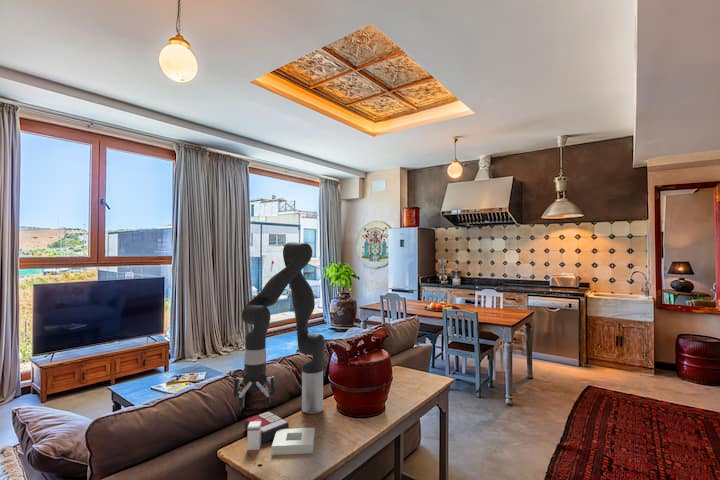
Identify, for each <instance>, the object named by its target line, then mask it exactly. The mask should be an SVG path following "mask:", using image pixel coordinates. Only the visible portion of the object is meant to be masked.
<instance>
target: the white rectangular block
mask: <svg viewBox="0 0 720 480" xmlns="http://www.w3.org/2000/svg"><path fill="white" fill-rule="evenodd" d="M261 445H262V442H261V421H254V422H250V423H249V425H248V431H247V446H246V448H247V451H258V450H260V448H261Z"/></svg>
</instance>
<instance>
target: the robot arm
mask: <svg viewBox="0 0 720 480" xmlns="http://www.w3.org/2000/svg"><path fill="white" fill-rule="evenodd" d="M282 256H283V257H282V258H283V262H284V265H285V267H284V268H283V269H281V270H280V271H278V272H277V273H276V274H274V275H273V276H272V277H271V278H269V280H268V281H267V282H266V283H265V285H264V287H263V288H262V289H261V291H260V292H259V293H258V294H256V295H255V296H254V297H253V298H252V299H250V300H249V302H247V304H246V305H245V306H244V307H243V310H242V312H241V319H242V321H243V322H244V323H245V324H247V325H253V327H252V330H251V331H248V332H247V333H246V334H245V347H244V351H245V352H244V356H243V357H244V358H243V361H244V362H243V363H244V366H243V367H244V368H243V370H244V371H243V375H244V376H243V377H239V376H236V378H235V379H234V386H233V396H234V397H238V405H239V406H238V407H240V409H244V408H245V394H246V393H247V391H261V392H262V393H263V394H264V395H265V408H268V407H269V406H270V404H271V397H272V396H274V395H275V394H276V389H277V388H276V376H275V375H272V376H267V349H266V342H267V340H266V338H267V337H266V336H267V333H268V331H269V330H268V329H269V326H270V321H271V312H270V309H269V308H268V307H271V306H274V305H275V304H276V303H277V302H278V300H279V299H280V297H281V296H282V294H283V293H284V291H285V289H286V288H287V287H288V285H289V287H290V293H291V300H292V306H293V311H294V316H295V317H294V318H295V325H296V336H297V337H296V339H297V341H296V342H297V348H298V351H299V353H301V354H302V355H307V356H308V355H310V356H312V359H310V360H308V361H305V362H304V363H302V364H301V411H303V412H302V413H304V412H305V413H304V414H306V413H307V415H315V414H319V413H321V412H323V410H324V363H325V348H326V347H325V345H326V344H325V343H326V341H325V337H324V335H323V334H321V333H312V332H309V327H308V325H309V324H308V323H309V320H310V319H311V316H312V314H313V313H314V310H315V306H316V304H315V296H314V295H315V294H314V291H313V289H312V286H311V285H310V283H309V282H308V281H307V279H306V278H305V276H304V275H303V272H302V270H303V269H304V268H305V267H306V266H307V265H308V264H309V263H310V261H311V260H312V256H313V248H312V246H311V244H310V243H307V242H299V241H298V242H296V241H290V242H286V244H284V246H283V249H282ZM267 381H268V383H269V384H270V389H269V388H268V386H267V385H266V383H267ZM242 383H243V384H244V385H245V386H244V388H243V389H242V391H240V385H241V384H242Z"/></svg>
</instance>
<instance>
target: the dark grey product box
mask: <svg viewBox="0 0 720 480" xmlns="http://www.w3.org/2000/svg"><path fill="white" fill-rule="evenodd" d="M254 421H261V443H263V444H264V443H267V442H269V441H271V440H274V437H275V434H276V431H277V430H280V429H290V427H289V426H290V423H289V422H288V421H286V420H285V419H283V418H281V417H279V416H278V415H276V414H274V413H272V412H270V411H266V412H263V413H260V414H258V415H254V416H252V417H249V418H246V419H245V420H244V430H245V431H247V432H248V425H249V423H250V422H254Z"/></svg>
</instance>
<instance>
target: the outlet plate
mask: <svg viewBox="0 0 720 480" xmlns="http://www.w3.org/2000/svg"><path fill="white" fill-rule="evenodd" d="M315 432H316V431H315V427H299V428H289V429H280V430H277V431H276V434H275V437H274V439H272V440H273V441H272V444H271V456H280V455H281V456H282V455H300V454H301V455H303V454H314V448H315V445H314V444H315Z"/></svg>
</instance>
